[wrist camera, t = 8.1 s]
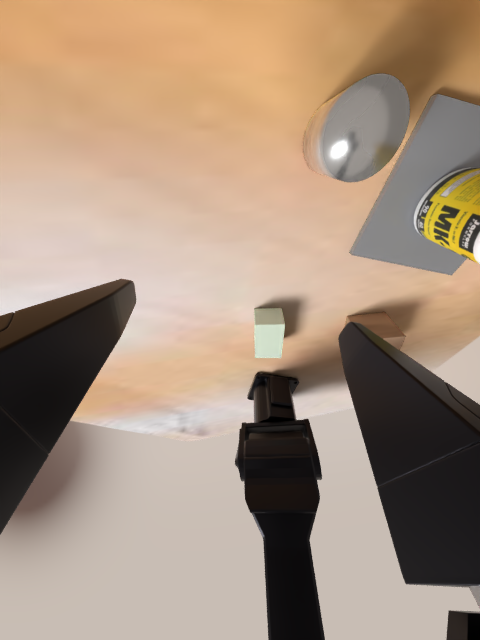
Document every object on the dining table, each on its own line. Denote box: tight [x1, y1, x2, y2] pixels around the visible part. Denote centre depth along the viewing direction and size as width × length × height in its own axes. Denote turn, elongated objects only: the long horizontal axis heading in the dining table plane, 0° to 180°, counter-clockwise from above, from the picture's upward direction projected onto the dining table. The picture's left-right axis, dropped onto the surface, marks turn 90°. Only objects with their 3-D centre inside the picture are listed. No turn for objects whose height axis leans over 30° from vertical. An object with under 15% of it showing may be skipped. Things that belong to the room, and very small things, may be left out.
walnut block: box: [345, 312, 406, 350], centre depth 23 cm, size 4×4×4 cm
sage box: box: [254, 308, 285, 358], centre depth 24 cm, size 5×3×3 cm, turn 2°
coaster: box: [349, 94, 480, 275], centre depth 16 cm, size 10×10×1 cm
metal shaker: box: [303, 73, 410, 182], centre depth 12 cm, size 4×4×5 cm
